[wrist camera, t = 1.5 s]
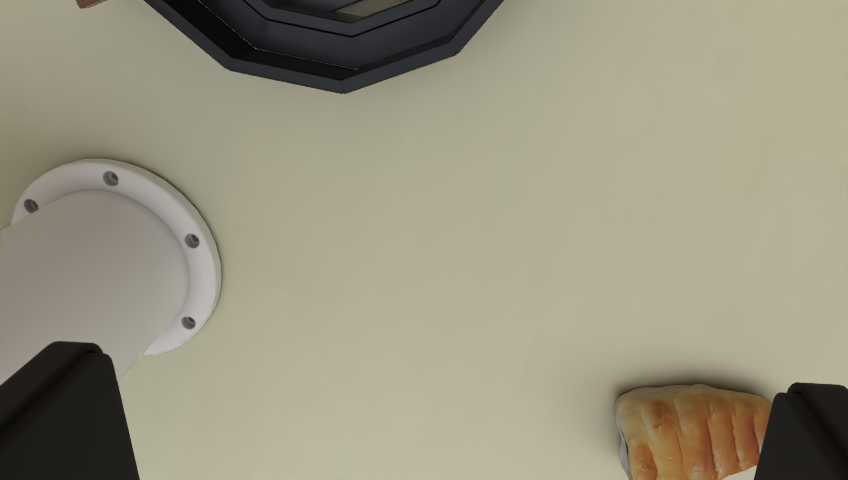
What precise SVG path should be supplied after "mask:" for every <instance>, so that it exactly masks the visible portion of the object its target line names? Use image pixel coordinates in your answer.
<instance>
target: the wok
mask: <svg viewBox="0 0 848 480" xmlns="http://www.w3.org/2000/svg"><path fill="white" fill-rule="evenodd" d="M76 1H77V3H78V5H79V7H80V8H81V9H82V8H90V7H92V6H95V5H97V4H99V3H102V2H104V1H106V0H76ZM144 1H145V2H146V3H148V4H149V5H150V6H151V7H152V8H154V9H155V10H156V11H157V12H158V13H160V14H161V15H162V16H163V17H164V18H166V19H167V20H168V21H169V22H170V23H172V24H173V25H174V26H175V27H176V28H178V29H179V30H180V31H181V32H182V33H184V34H185V35H186V36H187V37H188V38H190V39H191V40H192V41H193V42H194V43H196V44H197V45H198V46H199V47H200V48H202V49H203V50H204V51H205V52H206V53H208V54H209V55H210V56H211V57H212V58H214V59H215V60H216V61H217V62H218V63H220V64H221V65H222V66H223V67H224V68H225V69H228V70H230V71H234V72H239V73H243V74H248V75H253V76H258V77H263V78H268V79H272V80H277V81H282V82H287V83H292V84H296V85H301V86H306V87H311V88H316V89H321V90H325V91H330V92H335V93H340V94H343V93H344V94H346V93H349V92H352V91H355V90H358V89H361V88H363V87H366V86H369V85H372V84H375V83H378V82H381V81H383V80H386V79H389V78H392V77H395V76H398V75H401V74H403V73H406V72H409V71H412V70H415V69H418V68H421V67H423V66H426V65H429V64H432V63H435V62H438V61H441V60H443V59H446V58H449V57H452V56H455V55H456V54H458V53H459V52H460V51H461V50H462V49H463V47H464V46H465V45H466V44H467V43H468V42H469V40H470V39H471V38H472V37H473V36H474V35H475V33H476V32H477V31H478V30H479V29H480V28H481V26H482V25H483V24H484V23H485V22H486V21H487V19H488V18H489V17H490V16H491V15H492V14H493V12H494V11H495V10H496V9H497V8H498V6H499V5H500V4H501V3H502V2H503V1H504V0H409V1H406V2H403V3H401V4H398V5H395V6H393V7H390V8H387V9H385V10H382V11H379V12H377V13H374V14H371V15H369V16H366V17H359V16H354V15H350V14H345V13H340V12H335V11H334V10H336V9H339V8H342V7H344V6H347V5H350V4H352V3H355V2H357V1H360V0H199V1H200V2H199V1H198V0H144ZM480 2H481V3H480ZM202 3H203V4H204V5H205V6H206V7H207V8H206V7H205V6H204V5H203V4H202ZM209 9H210V10H211V11H212V12H213V13H212V12H211V11H210V10H209ZM216 15H217V16H218V17H219V18H220V19H219V18H218V17H217V16H216ZM222 20H223V21H224V22H225V23H226V24H227V25H226V24H225V23H224V22H223V21H222ZM229 26H230V27H231V28H232V29H233V30H232V29H231V28H230V27H229ZM459 27H460V28H459ZM235 31H236V32H237V33H238V34H239V35H240V36H239V35H238V34H237V33H236V32H235ZM453 33H454V34H453ZM450 35H451V36H450ZM242 37H243V38H244V39H245V40H246V41H245V40H244V39H243V38H242ZM436 40H437V41H436ZM249 43H250V44H251V45H252V46H253V47H252V46H251V45H250V44H249ZM422 45H423V46H422ZM255 48H257V49H255ZM258 49H260V50H258ZM263 50H265V51H263ZM408 50H409V51H408ZM268 51H270V52H268ZM273 52H275V53H273ZM278 53H280V54H278ZM283 54H284V55H283ZM288 55H289V56H288ZM394 55H395V56H394ZM292 56H294V57H292ZM297 57H299V58H297ZM302 58H304V59H302ZM307 59H309V60H307ZM383 59H384V60H383ZM312 60H314V61H312ZM380 60H381V61H380ZM317 61H318V62H317ZM321 62H323V63H321ZM326 63H328V64H326ZM331 64H333V65H331ZM369 64H370V65H369ZM336 65H338V66H336ZM366 65H367V66H366ZM341 66H343V67H341ZM346 67H347V68H346ZM351 68H352V69H351ZM355 69H356V70H355Z"/></svg>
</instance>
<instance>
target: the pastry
mask: <svg viewBox="0 0 848 480" xmlns="http://www.w3.org/2000/svg"><path fill="white" fill-rule="evenodd" d="M771 407H772V404H771V403H770V402H769V401H768V400H766V399H765V398H763V397H762V396H760V395H754V394H749V393H747V392H744V393H743V392H736V391H734V390H730V389H729V390H724V389H717V388H713V387H711V386H709V385H705V384H694V385H665V386H664V387H641V388H636V389H633V390H631V391H629V392H627V393H625V394H623V395H621V396H620V397H619V398H618V399H617V400H616V402H615V419H616V423H617V426H618V431H619V433H620V436H621V439H622V440H621V445H620V448H619V456H620V459H621V464H622V467H623V470H624V471H625V473H626V474H627V476H628V478H629V480H723V479H724V478H725V477H726V476H728V475H733V474H736V473H739V472H741V471H745V470H747V469H749V468H751V467H753V466H755V465H758V461H759V457H760V452H761V448H762V444H763V440H764V436H765V432H766V428H767V424H768V419H769V415H770V411H771Z"/></svg>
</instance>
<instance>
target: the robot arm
mask: <svg viewBox="0 0 848 480" xmlns="http://www.w3.org/2000/svg"><path fill="white" fill-rule="evenodd" d="M196 236H197V237H196ZM220 288H221V263H220V259H219V254H218V250H217V246H216V244H215V241H214V239H213V237H212V235H211V232H210V230H209V228H208V226H207V224H206V223H205V221H204V220H203V218H202V217H201V215H200V214H199V212H198V211H197V209H196V208H195V207H194V206H193V205H192V204H191V203H190V202H189V201H188V200H187V199H186V198H185V197H184V195H183V194H182V193H180V192H179V191H178V190H177V189H175V188H174V187H173V186H172V185H170V184H169V183H168V182H166V181H165V180H164V179H162V178H160V177H158V176H157V175H155V174H153V173H151V172H149V171H147V170H146V169H143V168H140V167H138V166H135V165H132V164H129V163H126V162H123V161H116V160H110V159H104V158H100V159H82V160H77V161H73V162H69V163H65V164H63V165H61V166H59V167H57V168H54V169H52V170H50V171H48V172H46V173H45V174H43V175H42V176H40V177H39V178H37V179H36V180H34V181H33V182H32V183H31V185H30V186H29V187H28V188H27V189H26V190H25V191H24V192H23V193H22V195H21V197H20V199H19V201H18V203H17V205H16V207H15V209H14V213H13V217H12V221H11V225H9V226H7V227H6V228H4V229H2V230H0V480H140V479H139V474H138V470H137V466H136V461H135V457H134V452H133V448H132V444H131V439H130V435H129V430H128V426H127V422H126V417H125V413H124V408H123V404H122V400H121V395H120V391H119V387H118V381H119V380H120V379H121V378H122V376H123V375H124V374H125V373H126V372H127V371H128V370H129V369H130V368H131V367H132V365H133V364H134V363H135V362H136V361H137V360H138V359H139V358H140V357H141V356H150V355H156V354H162V353H165V352H167V351H170V350H173V349H175V348H178V347H179V346H181V345H182V344H184V343H185V342H187V341H188V340H190V339H191V338H192V337H193V336H194V335H195V334H196V333H197V332H198V331H199V330H200V329H201V328H202V327H203V325H204V324H205V323H206V321H207V320H208V319H209V317H210V316H211V315H212V313H213V311H214V308H215V306H216V303H217V301H218V299H219V293H220ZM754 480H848V389H847V388H846V387H844V386H841V385H833V384H815V383H797V382H796V383H794V384H792V385H791V386H790V387H789V389H788V391H787V393H778V394H777V395H776V396H775V397H774V400H773V403H772V407H771V411H770V415H769V419H768V424H767V428H766V432H765V436H764V440H763V444H762V448H761V452H760V457H759V461H758V465H757V469H756V473H755V477H754Z"/></svg>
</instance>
